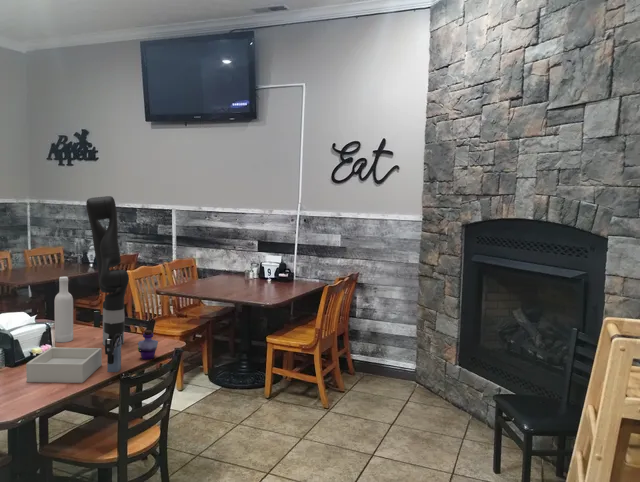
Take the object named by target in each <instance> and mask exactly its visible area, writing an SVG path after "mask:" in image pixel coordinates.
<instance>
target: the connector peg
mask: <svg viewBox="0 0 640 482" xmlns="http://www.w3.org/2000/svg"><path fill="white" fill-rule="evenodd" d="M109 351H110V350H109ZM106 355H107V354H106ZM121 369H122V347H121V344H118V345H117V347H116V349H115V351H114V363H113V364H108V355H107V373H119V372H120V370H121Z"/></svg>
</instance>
